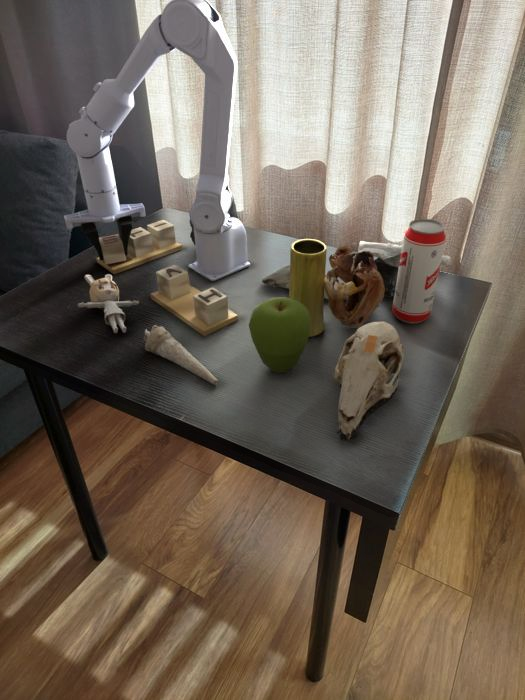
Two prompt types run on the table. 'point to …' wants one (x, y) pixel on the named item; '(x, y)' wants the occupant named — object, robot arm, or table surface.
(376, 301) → the dried fish head
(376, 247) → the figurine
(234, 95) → the robot arm
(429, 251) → the beer can
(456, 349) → the table surface
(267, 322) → the apple
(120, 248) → the s tile
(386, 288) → the rock
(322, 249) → the vase
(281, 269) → the fossil
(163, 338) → the seashell
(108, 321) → the toy
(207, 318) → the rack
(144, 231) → the board
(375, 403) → the animal skull replica
